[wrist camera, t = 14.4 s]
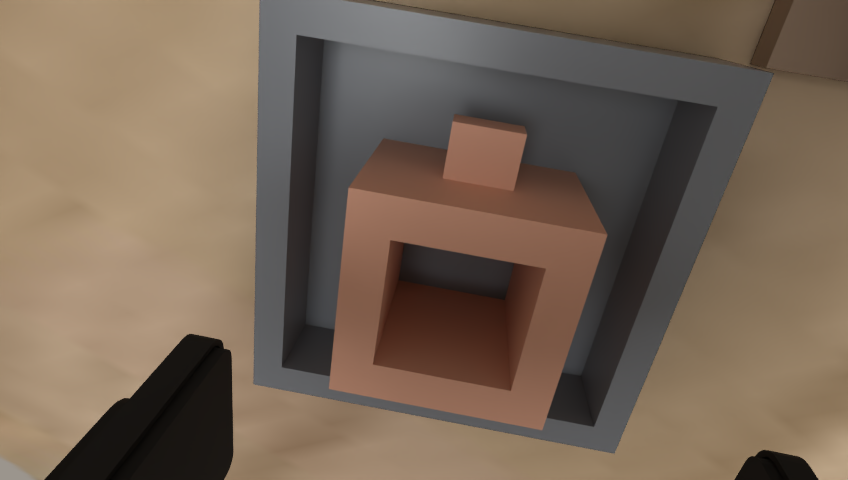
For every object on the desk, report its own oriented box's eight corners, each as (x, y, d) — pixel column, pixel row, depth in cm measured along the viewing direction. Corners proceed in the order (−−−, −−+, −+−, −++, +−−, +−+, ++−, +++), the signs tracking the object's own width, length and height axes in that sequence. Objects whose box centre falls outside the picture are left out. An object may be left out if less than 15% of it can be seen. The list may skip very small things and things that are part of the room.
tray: (717, 58, 16) (774, 73, 13) (595, 387, 22) (614, 453, 19) (302, -12, 17) (259, -14, 13) (286, 329, 22) (253, 384, 19)
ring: (589, 124, 17) (628, 172, 12) (529, 332, 20) (542, 430, 16) (389, 89, 17) (355, 123, 12) (363, 301, 20) (328, 389, 16)
